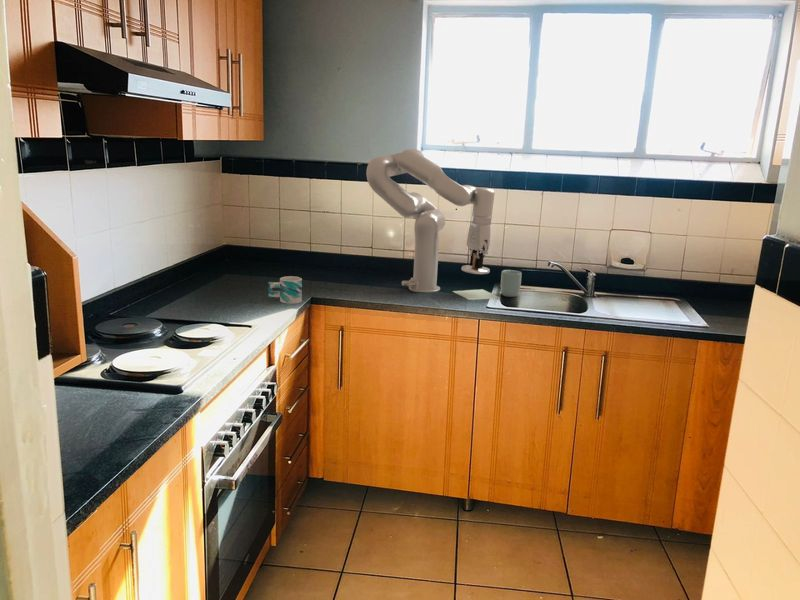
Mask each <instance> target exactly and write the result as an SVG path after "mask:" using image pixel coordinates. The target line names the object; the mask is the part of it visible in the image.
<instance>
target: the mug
mask: <svg viewBox="0 0 800 600" xmlns="http://www.w3.org/2000/svg"><path fill="white" fill-rule="evenodd" d="M273 288H276V289H277V288H278V289H279V290H273ZM302 292H303V278H302V277H299V276H292V275H290V276H289V275H288V276H282V277H280V278H279V281H277V282H275V281H268V285H267V294H268V295H267V298H279V302H280V303H284V304H289V305H290V304H299V303H302V301H303V298H302V297H303V293H302Z"/></svg>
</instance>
